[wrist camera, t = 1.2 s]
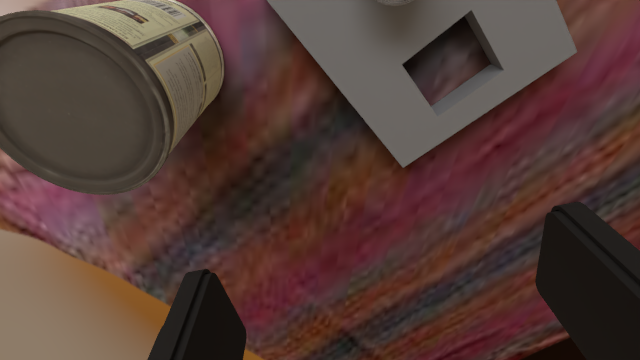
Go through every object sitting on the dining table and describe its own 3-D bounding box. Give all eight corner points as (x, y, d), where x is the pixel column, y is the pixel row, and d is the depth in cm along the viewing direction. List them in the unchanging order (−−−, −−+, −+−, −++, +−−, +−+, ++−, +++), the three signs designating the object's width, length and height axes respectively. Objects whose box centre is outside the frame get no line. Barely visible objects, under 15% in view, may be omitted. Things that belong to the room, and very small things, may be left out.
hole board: (449, -204, 22) (464, -223, 20) (558, 46, 30) (577, 51, 28) (263, -11, 27) (258, -10, 25) (397, 156, 36) (403, 167, 33)
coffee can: (134, 120, 33) (30, 203, 21) (86, 2, 28) (-89, 23, 16) (237, 110, 33) (192, 188, 21) (209, -12, 27) (126, -1, 15)
